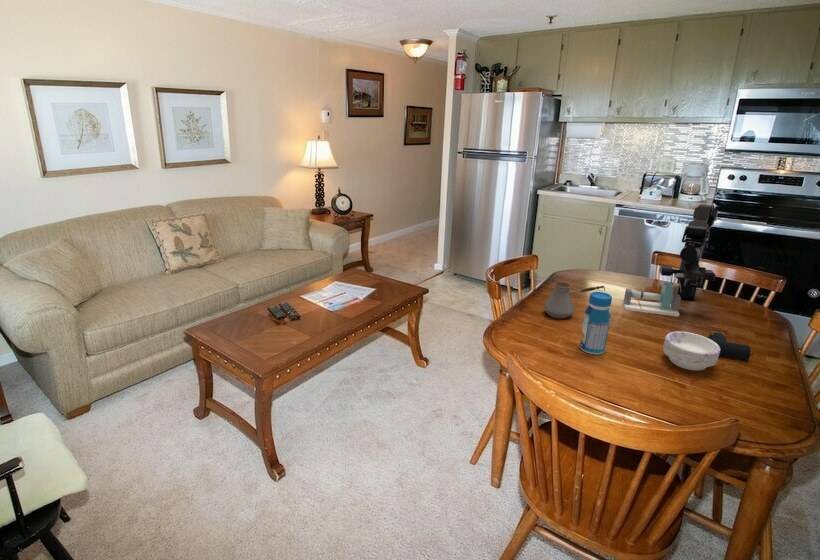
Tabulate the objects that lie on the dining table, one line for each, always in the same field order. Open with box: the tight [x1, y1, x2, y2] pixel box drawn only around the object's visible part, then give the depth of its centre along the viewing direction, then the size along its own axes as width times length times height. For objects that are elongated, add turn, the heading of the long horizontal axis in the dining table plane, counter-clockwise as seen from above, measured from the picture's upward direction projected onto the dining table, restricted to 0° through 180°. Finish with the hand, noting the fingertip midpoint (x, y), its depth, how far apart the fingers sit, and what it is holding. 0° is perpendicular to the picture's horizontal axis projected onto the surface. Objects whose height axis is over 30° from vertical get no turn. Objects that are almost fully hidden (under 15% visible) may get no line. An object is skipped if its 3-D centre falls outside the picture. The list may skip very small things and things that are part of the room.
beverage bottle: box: [579, 291, 613, 355], centre depth 151 cm, size 8×8×20 cm
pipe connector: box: [707, 330, 752, 361], centre depth 155 cm, size 12×5×15 cm
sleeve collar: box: [658, 281, 675, 308], centre depth 185 cm, size 3×6×9 cm, turn 161°
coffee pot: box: [544, 281, 606, 319], centre depth 177 cm, size 21×12×15 cm, turn 64°
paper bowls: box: [662, 331, 720, 371], centre depth 145 cm, size 15×15×8 cm
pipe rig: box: [622, 288, 682, 318], centre depth 188 cm, size 20×10×7 cm, turn 71°
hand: (682, 292), depth 183 cm, fingers closed
